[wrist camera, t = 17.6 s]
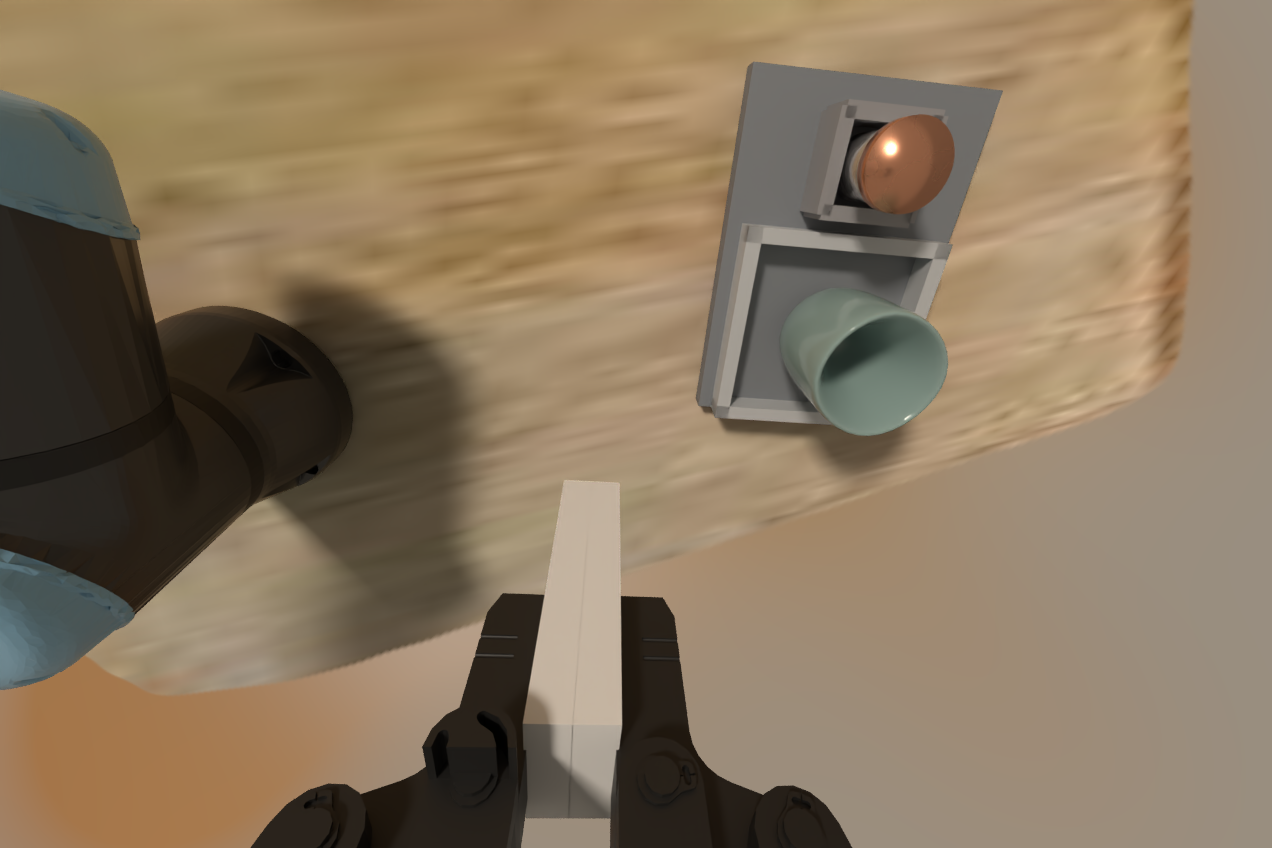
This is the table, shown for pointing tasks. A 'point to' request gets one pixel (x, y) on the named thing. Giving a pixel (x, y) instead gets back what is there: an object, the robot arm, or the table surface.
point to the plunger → (898, 164)
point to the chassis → (820, 222)
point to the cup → (862, 359)
